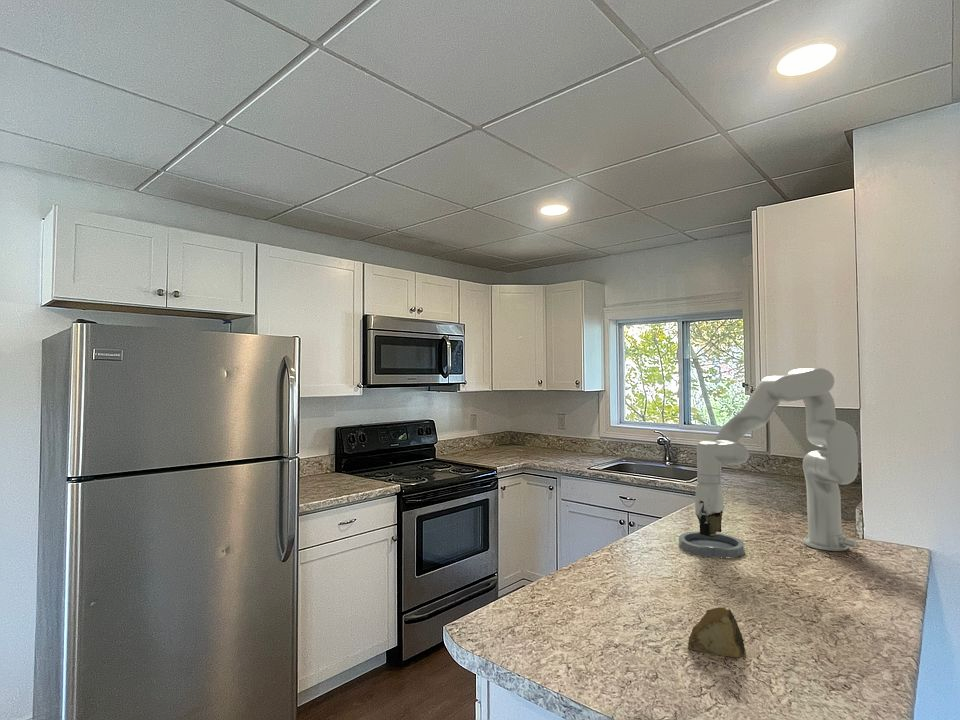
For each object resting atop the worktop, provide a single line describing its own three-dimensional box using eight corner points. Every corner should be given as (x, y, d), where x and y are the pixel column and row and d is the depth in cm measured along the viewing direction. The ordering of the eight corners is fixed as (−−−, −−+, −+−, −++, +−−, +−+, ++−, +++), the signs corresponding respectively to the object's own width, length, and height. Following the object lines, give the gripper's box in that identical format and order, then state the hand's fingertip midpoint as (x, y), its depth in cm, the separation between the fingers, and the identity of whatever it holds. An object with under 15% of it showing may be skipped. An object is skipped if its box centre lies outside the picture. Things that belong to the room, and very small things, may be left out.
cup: (725, 540, 170) (724, 515, 170) (701, 539, 171) (700, 514, 172) (719, 533, 177) (718, 509, 177) (696, 532, 179) (695, 509, 179)
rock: (676, 641, 108) (724, 652, 101) (682, 599, 113) (729, 607, 106) (699, 659, 113) (747, 671, 106) (704, 618, 118) (751, 627, 111)
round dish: (756, 549, 172) (756, 541, 172) (724, 562, 160) (724, 554, 160) (699, 535, 188) (699, 528, 188) (666, 546, 176) (666, 538, 176)
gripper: (712, 474, 183) (714, 526, 182) (684, 480, 173) (685, 535, 172) (733, 477, 177) (735, 531, 176) (705, 484, 167) (707, 540, 166)
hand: (710, 532), depth 174 cm, fingers closed on cup, 6 cm apart
